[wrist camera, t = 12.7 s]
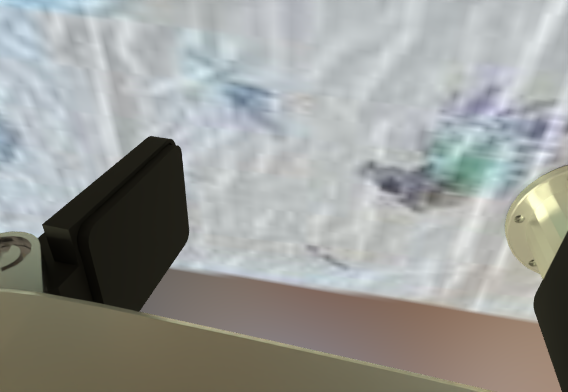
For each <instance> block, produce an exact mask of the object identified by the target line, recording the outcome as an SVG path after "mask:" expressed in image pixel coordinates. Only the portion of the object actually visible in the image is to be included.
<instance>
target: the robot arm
mask: <svg viewBox="0 0 568 392" xmlns="http://www.w3.org/2000/svg"><path fill="white" fill-rule="evenodd" d="M42 226H43V229H44V233H43V234H42V235H41V236H40V237H39V238H36V237H35V236H34V235H32V234H29V233H26V232H13V231H12V232H5V233H0V392H495V391H491V390H486V389H482V388H478V387H474V386H469V385H465V384H460V383H456V382H452V381H447V380H443V379H439V378H434V377H430V376H426V375H422V374H417V373H412V372H408V371H404V370H399V369H395V368H391V367H386V366H382V365H377V364H373V363H368V362H364V361H360V360H355V359H351V358H346V357H342V356H337V355H333V354H329V353H324V352H320V351H315V350H310V349H306V348H302V347H297V346H293V345H288V344H284V343H279V342H275V341H270V340H266V339H262V338H257V337H252V336H248V335H243V334H239V333H234V332H230V331H225V330H220V329H216V328H211V327H207V326H202V325H197V324H193V323H188V322H184V321H179V320H175V319H170V318H166V317H161V316H157V315H152V314H147V313H143V312H139V311H140V310H141V308H142V307H143V305H144V304H145V302H146V301H147V300H148V298H149V297H150V295H151V294H152V292H153V290H154V289H155V288H156V286H157V285H158V283H159V282H160V281H161V279H162V277H163V276H164V275H165V273H166V272H167V270H168V269H169V267H170V266H171V264H172V263H173V262H174V260H175V259H176V257H177V256H178V254H179V253H180V251H181V250H182V248H183V247H184V246H185V244H186V242H187V240H188V236H189V224H188V213H187V203H186V193H185V182H184V172H183V161H182V152H181V148H180V147H179V146H176V145H175V142H174V141H173V140H172V139H167V138H160V137H153V136H150V137H148V138H146V139H145V140H144V141H143V142H142V143H140V144H139V145H138V146H137V147H136V148H134V149H133V150H132V151H131V152H129V153H128V154H127V155H126V156H125V157H123V158H122V159H121V160H120V161H119V162H117V163H116V164H115V165H114V166H113V167H111V168H110V169H109V170H108V171H106V172H105V173H104V174H103V175H102V176H100V177H99V178H98V179H97V180H96V181H94V182H93V183H92V184H91V185H90V186H88V187H87V188H86V189H85V190H83V191H82V192H81V193H80V194H79V195H77V196H76V197H75V198H74V199H73V200H71V201H70V202H69V203H68V204H66V205H65V206H64V207H63V208H62V209H60V210H59V211H58V212H57V213H56V214H54V215H53V216H52V217H51V218H50V219H48V220H47V221H46V222H45V223H43V224H42ZM505 234H506V238H507V241H508V244H509V247H510V249H511V251H512V253H513V254H514V256H515V257H516V258H517V259H518V260H519V261H520V262H521V263H522V264H523V265H524V266H526V267H527V268H529V269H531V270H533V271H535V272H537V273H539V274H541V277H542V279H543V280H542V282H541V284H540V286H539V288H538V290H537V292H536V295H535V298H534V311H535V314H536V317H537V320H538V323H539V326H540V328H541V332H542V334H543V337H544V340H545V343H546V346H547V349H548V352H549V355H550V358H551V361H552V363H553V366H554V369H555V372H556V375H557V378H558V381H559V384H560V387H561V390H562V392H568V165H567V166H564V167H561V168H558V169H555V170H553V171H551V172H549V173H547V174H545V175H543V176H541V177H540V178H538V179H537V180H535V181H534V182H532V183H531V184H529V185H528V186H527V187H526V188H525V189H524V190H523V191H522V192H521V193H520V194H519V195H518V196H517V198H516V199H515V201H514V202H513V203H512V205H511V207H510V209H509V211H508V214H507V217H506V222H505Z"/></svg>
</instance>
